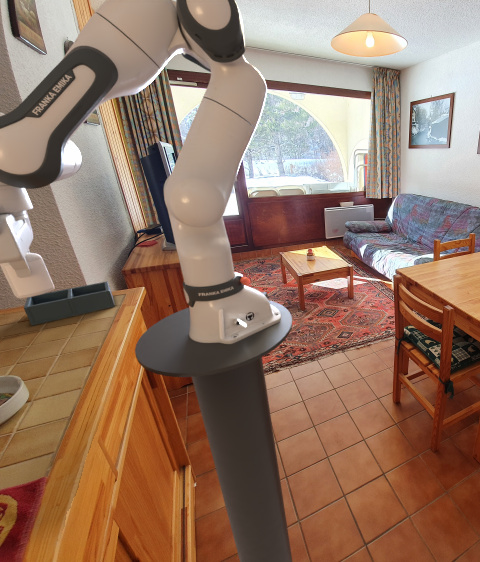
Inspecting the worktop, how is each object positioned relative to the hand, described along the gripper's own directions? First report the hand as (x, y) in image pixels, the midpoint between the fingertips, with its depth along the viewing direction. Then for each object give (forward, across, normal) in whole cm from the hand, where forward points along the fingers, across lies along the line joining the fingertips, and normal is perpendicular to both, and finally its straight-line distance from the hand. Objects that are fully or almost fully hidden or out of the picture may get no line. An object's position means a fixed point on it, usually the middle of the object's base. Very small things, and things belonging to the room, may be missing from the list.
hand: (27, 272), depth 61 cm
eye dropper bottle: (+5, 0, 0) cm, 5 cm away
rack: (+21, +29, -2) cm, 36 cm away
